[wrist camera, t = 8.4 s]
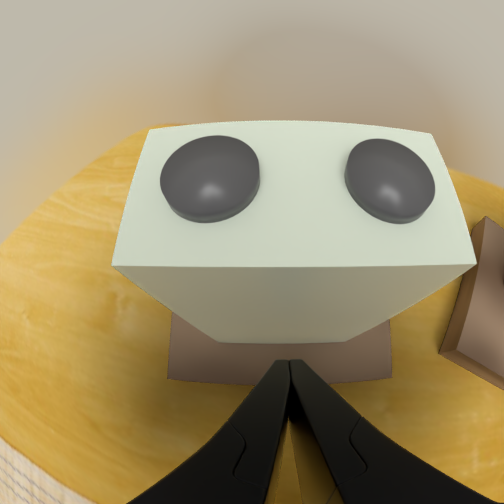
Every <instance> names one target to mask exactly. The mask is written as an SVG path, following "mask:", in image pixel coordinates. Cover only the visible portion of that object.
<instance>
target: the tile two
mask: <svg viewBox="0 0 504 504" xmlns="http://www.w3.org/2000/svg"><path fill="white" fill-rule="evenodd" d="M476 264H477V262H476V258H475V254H474V250H473V246H472V242H471V238H470V235H469V231H468V228H467V224H466V221H465V218H464V215H463V211H462V208H461V205H460V202H459V200H458V197H457V194H456V191H455V188H454V186H453V183H452V180H451V178H450V175H449V173H448V170H447V168H446V166H445V164H444V161H443V159H442V156H441V154H440V152H439V149H438V147H437V145H436V143H435V141H434V139H433V137H432V135H431V134H429V133H423V132H417V131H411V130H404V129H397V128H389V127H381V126H372V125H362V124H350V123H338V122H320V121H239V122H238V121H237V122H219V123H205V124H194V125H184V126H175V127H166V128H159V129H151V130H149V132H148V135H147V138H146V141H145V144H144V146H143V149H142V152H141V155H140V158H139V161H138V164H137V167H136V171H135V174H134V177H133V180H132V184H131V187H130V190H129V194H128V197H127V201H126V205H125V208H124V212H123V216H122V220H121V224H120V228H119V232H118V237H117V241H116V245H115V250H114V255H113V259H112V264H111V266H113V267H114V268H115V269H116V270H118V271H119V272H120V273H121V274H123V275H124V276H125V277H127V278H128V279H129V280H130V281H132V282H133V283H134V284H136V285H137V286H138V287H140V288H141V289H142V290H144V291H145V292H146V293H148V294H149V295H150V296H152V297H153V298H154V299H156V300H157V301H158V302H160V303H161V304H163V305H164V306H165V307H167V308H168V309H170V310H171V311H172V312H174V313H175V314H177V315H178V316H180V317H181V318H183V319H184V320H185V321H187V322H188V323H190V324H191V325H193V326H194V327H196V328H197V329H199V330H200V331H202V332H203V333H205V334H206V335H208V336H209V337H211V338H212V339H214V340H216V341H217V342H221V343H256V344H295V343H330V342H346V341H348V340H350V339H352V338H354V337H356V336H358V335H360V334H362V333H364V332H366V331H368V330H370V329H371V328H373V327H375V326H377V325H379V324H381V323H383V322H385V321H386V320H388V319H390V318H392V317H394V316H395V315H397V314H399V313H401V312H403V311H404V310H406V309H408V308H410V307H411V306H413V305H415V304H416V303H418V302H420V301H421V300H423V299H425V298H426V297H428V296H429V295H431V294H433V293H434V292H436V291H437V290H439V289H441V288H442V287H444V286H445V285H447V284H448V283H450V282H451V281H453V280H454V279H456V278H457V277H459V276H460V275H462V274H463V273H465V272H466V271H468V270H469V269H470V268H472V267H473V266H475V265H476Z"/></svg>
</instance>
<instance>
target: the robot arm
mask: <svg viewBox="0 0 504 504" xmlns="http://www.w3.org/2000/svg"><path fill="white" fill-rule="evenodd" d="M288 418H289V427H290V432H291V438H292V444H293V450H294V455H295V461H296V467H297V473H298V478H299V484H300V490H301V496H302V502H303V504H504V503H498V502H495V501H493V500H491V499H489V498H487V497H485V496H483V495H481V494H479V493H477V492H476V491H474V490H472V489H470V488H468V487H467V486H465V485H463V484H461V483H459V482H458V481H456V480H454V479H453V478H451V477H449V476H447V475H446V474H444V473H442V472H441V471H439V470H437V469H436V468H434V467H433V466H431V465H429V464H428V463H426V462H424V461H423V460H421V459H420V458H418V457H417V456H415V455H413V454H412V453H410V452H409V451H407V450H406V449H404V448H403V447H401V446H400V445H398V444H397V443H395V442H394V441H393V440H391V439H390V438H388V437H387V436H386V435H384V434H383V433H382V432H380V431H379V430H378V429H377V428H376V427H374V426H373V425H372V424H371V423H370V422H369V421H368V420H366V419H365V418H364V417H362V416H361V415H360V414H359V413H358V412H357V411H356V410H355V409H354V408H353V407H352V406H351V405H350V404H348V403H347V402H346V401H345V400H344V399H343V398H342V397H341V396H340V395H339V394H338V393H337V392H336V391H335V390H334V389H333V388H331V387H330V386H329V385H328V384H327V383H326V382H325V381H324V380H323V379H322V378H321V377H320V376H319V375H318V374H317V373H316V372H315V371H314V370H313V369H312V368H311V367H310V366H309V365H308V364H307V363H305V362H304V361H303V360H302V359H290V360H289V361H288V360H287V359H276V360H275V361H274V362H273V363H272V365H271V366H270V367H269V369H268V370H267V371H266V373H265V374H264V375H263V377H262V378H261V379H260V381H259V382H258V383H257V384H256V386H255V387H254V388H253V390H252V391H251V392H250V393H249V395H248V396H247V397H246V398H245V400H244V401H243V402H242V403H241V405H240V406H239V407H238V408H237V409H236V411H235V412H234V413H233V414H232V416H231V417H230V418H229V419H228V421H226V422H225V423H224V425H223V426H222V427H221V428H220V429H219V430H218V431H217V433H216V434H215V435H214V436H213V437H212V438H211V439H210V440H209V441H208V442H207V443H206V444H205V445H203V446H202V447H201V448H200V449H199V450H198V451H197V452H196V453H194V454H193V455H192V456H191V457H189V458H188V459H187V460H186V461H184V462H183V463H182V464H181V465H179V466H178V467H177V468H175V469H174V470H173V471H172V472H170V473H169V474H168V475H166V476H165V477H164V478H162V479H161V480H160V481H158V482H157V483H156V484H154V485H153V486H151V487H150V488H149V489H147V490H146V491H144V492H143V493H141V494H140V495H139V496H137V497H136V498H134V499H133V500H131V501H130V502H128V503H127V504H274V500H275V495H276V490H277V485H278V479H279V474H280V468H281V462H282V457H283V451H284V444H285V438H286V432H287V425H288Z"/></svg>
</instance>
